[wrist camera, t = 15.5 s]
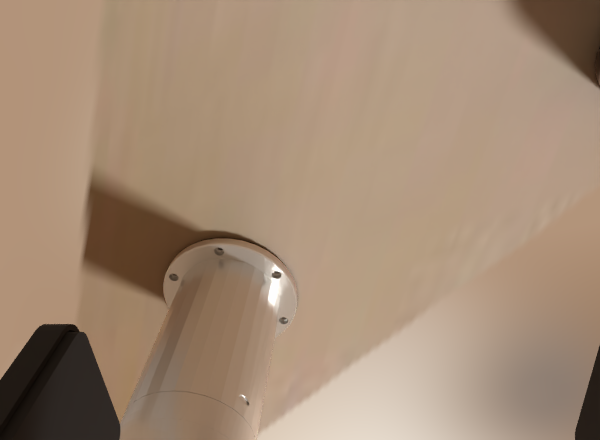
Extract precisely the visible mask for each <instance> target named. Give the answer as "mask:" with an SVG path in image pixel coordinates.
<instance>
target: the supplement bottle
mask: <svg viewBox="0 0 600 440" xmlns="http://www.w3.org/2000/svg"><path fill="white" fill-rule="evenodd" d="M595 71H596V78H597V81H598V83H599V85H600V48H599V51H598V53H597V57H596V63H595Z"/></svg>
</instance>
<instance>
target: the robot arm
mask: <svg viewBox="0 0 600 440" xmlns="http://www.w3.org/2000/svg"><path fill="white" fill-rule="evenodd" d="M163 292H164V298H165V301H166V304H167V306H168V308H169V311H168V313H167V315H166V318H165V320H164V322H163V325H162V327H161V329H160V332H159V334H158V336H157V339H156V341H155V343H154V346H153V348H152V350H151V353H150V355H149V357H148V360H147V362H146V364H145V367H144V369H143V371H142V374H141V376H140V378H139V381H138V383H137V385H136V388H135V390H134V392H133V395H132V397H131V399H130V402H129V404H128V406H127V409H126V411H125V413H124V416H123V418H122V420H121V423H119V420H118V418H117V415H116V412H115V410H114V407H113V404H112V402H111V399H110V396H109V394H108V391H107V388H106V386H105V383H104V380H103V378H102V375H101V372H100V370H99V367H98V364H97V362H96V359H95V356H94V354H93V351H92V348H91V346H90V343H89V340H88V338H87V336H86V334H85V333H84V332H79V330H78V328H77V327H76V326H75V325H73V324H47V325H46V324H44V325H42V326H40V327H39V328H38V329H37V330H36V331H35V332H34V334H33V335H32V336H31V338H30V339H29V341H28V342H27V343H26V345H25V346H24V348H23V349H22V351H21V352H20V353H19V355H18V356H17V358H16V359H15V360H14V362H13V363H12V364H11V366H10V367H9V369H8V370H7V371H6V373H5V374H4V376H3V377H2V378H1V380H0V440H257V436H258V430H259V424H260V418H261V413H262V407H263V401H264V396H265V390H266V384H267V378H268V373H269V367H270V361H271V356H272V350H273V344H274V339H275V338H276V337H278V336H279V335H280V334H282V333H283V332H284V331H285V330H286V329H287V328H288V327H289V325H290V324H291V322H292V320H293V318H294V316H295V312H296V309H297V300H298V294H297V287H296V284H295V281H294V279H293V276H292V275H291V273H290V272H289V270H288V269H287V267H286V266H285V265H284V264H283V263H282V262H281V261H280V260H279V259H278V258H277V257H275V256H274V255H273V254H271V253H270V252H269V251H267V250H265V249H263V248H261V247H259V246H257V245H255V244H252V243H248V242H245V241H242V240H236V239H230V238H215V239H209V240H203V241H200V242H197V243H195V244H192V245H190V246H189V247H187V248H185V249H183V250H182V251H181V252H180V253H179V254H178V255H177V256H176V257H175V258H174V259H173V261H172V262H171V264H170V265H169V267H168V270H167V272H166V274H165V278H164V283H163ZM575 440H600V346H599V350H598V353H597V357H596V360H595V364H594V367H593V371H592V374H591V378H590V381H589V385H588V388H587V392H586V395H585V399H584V403H583V406H582V409H581V413H580V417H579V420H578V423H577V427H576V432H575Z"/></svg>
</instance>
